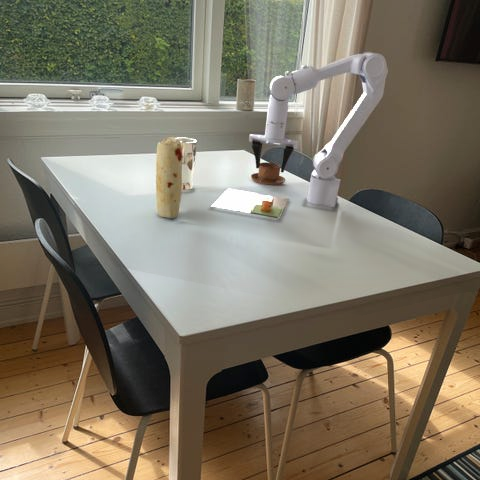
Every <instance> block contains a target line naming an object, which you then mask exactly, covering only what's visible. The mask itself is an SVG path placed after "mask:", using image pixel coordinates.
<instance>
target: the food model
mask: <svg viewBox="0 0 480 480" xmlns="http://www.w3.org/2000/svg"><path fill="white" fill-rule="evenodd" d="M176 138H177V137H175V136H169V137H165V138H163V139H162V140H161V142H160V141H158V143H157V145H156V166H155V193H156V194H155V196H156V198H155V199H156V212H157V214H158V216H160V217H162V218H166V219H170V220H171V219H175V218H176V217H177V216H178V214H179V212H180V207H181V200H182V190H183V189H182V145H181V142H180V141H179V140H178V139H176Z"/></svg>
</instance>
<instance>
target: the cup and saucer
mask: <svg viewBox="0 0 480 480" xmlns="http://www.w3.org/2000/svg"><path fill="white" fill-rule="evenodd" d="M281 167H282V165H279V164H277V163H275V162H260V167H259V168H258V172H256V173H255V172H254V173H252V174H251V175H250V178H251V180H252V181H254V182H255V183H258V184H260V185H267V186H279V185H283V184H285V182H286V178H285V177H283V176H281V175H280V174H281Z"/></svg>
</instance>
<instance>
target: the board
mask: <svg viewBox="0 0 480 480" xmlns="http://www.w3.org/2000/svg"><path fill="white" fill-rule="evenodd" d="M268 196H269V194H263V193H258V192H252V191H246V190H240V189H234V188H227V189H226V190H225V191H224V192H223V193H222V194H221V195H220V196H219V197H218V198H217V199H216V201H214V203H212V205H210V207H211V208H218V209H223V210H229V211H235V212H240V213H246V214H251V215H258V216H263V217H269V218H275V219H280V218H281V216H282V214H283V212H284V210H285V208H286V206H287V204H288V202H289V200H290V198H288V197H282V196H276V195H270V197H271V198H274V202H273V207H277V208H282V210H281V212H280V214H279V216H278V217H273V216H267V215H261V214H255V213H250V212H251V210H252V209H253V207H254V206H255V204H259V205H262V200H263V198H264V197H268Z"/></svg>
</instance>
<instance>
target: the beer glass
mask: <svg viewBox="0 0 480 480" xmlns="http://www.w3.org/2000/svg"><path fill="white" fill-rule="evenodd" d="M175 138H176V139H178V140H179V141H180V142H181V145H182V190H191V189H193V188H194V184H193V176H194V171H195V168H196V162H197V140H196V139H194V138H190V137H175Z"/></svg>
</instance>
